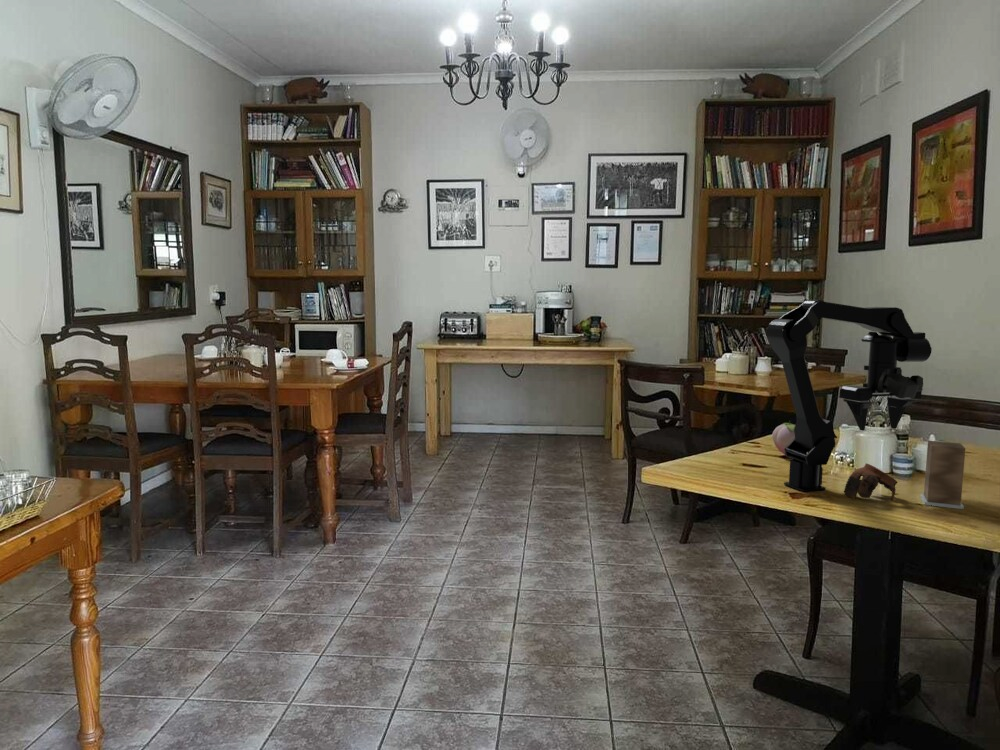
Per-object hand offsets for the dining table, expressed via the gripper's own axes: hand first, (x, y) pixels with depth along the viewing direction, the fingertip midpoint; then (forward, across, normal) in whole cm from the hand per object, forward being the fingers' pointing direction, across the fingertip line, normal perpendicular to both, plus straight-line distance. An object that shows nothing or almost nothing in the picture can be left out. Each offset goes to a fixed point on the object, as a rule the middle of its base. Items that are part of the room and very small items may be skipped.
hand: (877, 429), depth 167 cm
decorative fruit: (+13, +1, +30) cm, 33 cm away
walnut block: (+12, +2, -16) cm, 20 cm away
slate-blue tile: (+13, +2, -16) cm, 21 cm away
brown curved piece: (+13, -10, -9) cm, 19 cm away
